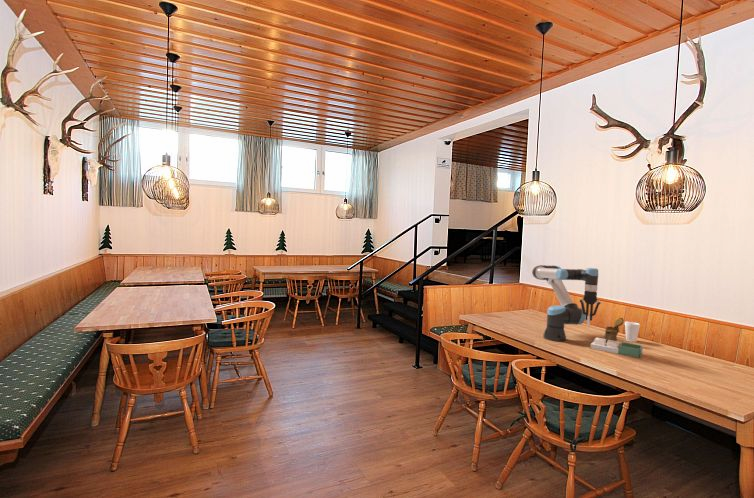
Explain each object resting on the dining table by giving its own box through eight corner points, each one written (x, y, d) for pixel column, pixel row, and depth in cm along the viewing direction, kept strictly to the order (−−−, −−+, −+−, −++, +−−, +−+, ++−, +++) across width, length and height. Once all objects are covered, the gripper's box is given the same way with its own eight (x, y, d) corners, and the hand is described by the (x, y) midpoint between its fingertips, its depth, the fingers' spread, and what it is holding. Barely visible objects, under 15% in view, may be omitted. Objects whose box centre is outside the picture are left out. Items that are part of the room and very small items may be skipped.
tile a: (594, 343, 274) (594, 339, 273) (596, 341, 278) (596, 337, 278) (604, 345, 270) (604, 341, 270) (605, 343, 275) (606, 339, 274)
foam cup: (625, 338, 305) (627, 321, 304) (640, 341, 298) (641, 323, 297) (622, 340, 298) (623, 322, 297) (636, 343, 291) (638, 325, 291)
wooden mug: (625, 344, 286) (627, 319, 285) (609, 345, 283) (611, 319, 282) (615, 341, 295) (617, 316, 294) (599, 341, 291) (601, 316, 290)
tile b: (606, 346, 269) (607, 341, 269) (608, 344, 274) (608, 339, 273) (617, 347, 265) (617, 343, 265) (618, 346, 270) (619, 341, 270)
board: (590, 348, 272) (590, 343, 272) (594, 344, 282) (594, 340, 282) (617, 353, 262) (618, 349, 262) (620, 349, 272) (621, 345, 272)
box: (617, 353, 262) (618, 345, 262) (620, 349, 272) (621, 341, 272) (639, 358, 255) (640, 349, 255) (642, 354, 264) (642, 345, 264)
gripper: (579, 290, 278) (576, 324, 279) (600, 292, 270) (598, 327, 271) (581, 289, 284) (579, 322, 285) (602, 291, 276) (600, 325, 277)
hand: (588, 325), depth 278 cm, fingers closed
